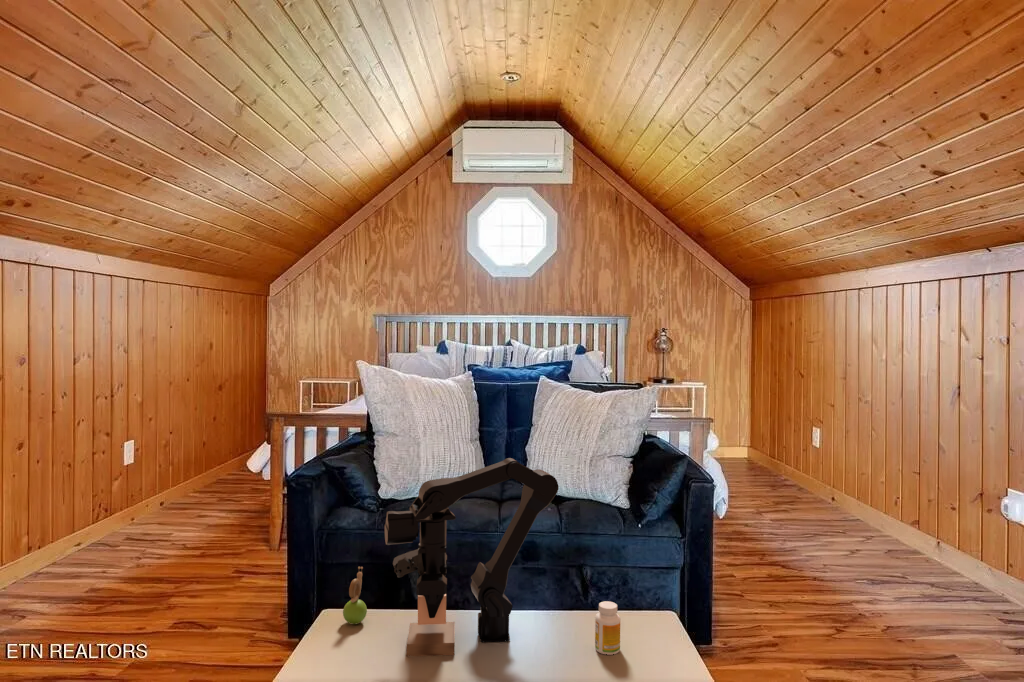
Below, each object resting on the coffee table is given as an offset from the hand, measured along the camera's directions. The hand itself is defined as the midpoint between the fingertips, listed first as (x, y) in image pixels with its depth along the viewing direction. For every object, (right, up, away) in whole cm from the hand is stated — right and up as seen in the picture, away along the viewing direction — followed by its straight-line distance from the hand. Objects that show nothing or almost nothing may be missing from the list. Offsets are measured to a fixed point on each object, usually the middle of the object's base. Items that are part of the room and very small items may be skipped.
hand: (432, 611), depth 141 cm
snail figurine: (-19, -7, +10) cm, 23 cm away
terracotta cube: (0, -2, 0) cm, 2 cm away
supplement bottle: (+38, -8, -1) cm, 39 cm away
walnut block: (0, -8, 0) cm, 8 cm away
